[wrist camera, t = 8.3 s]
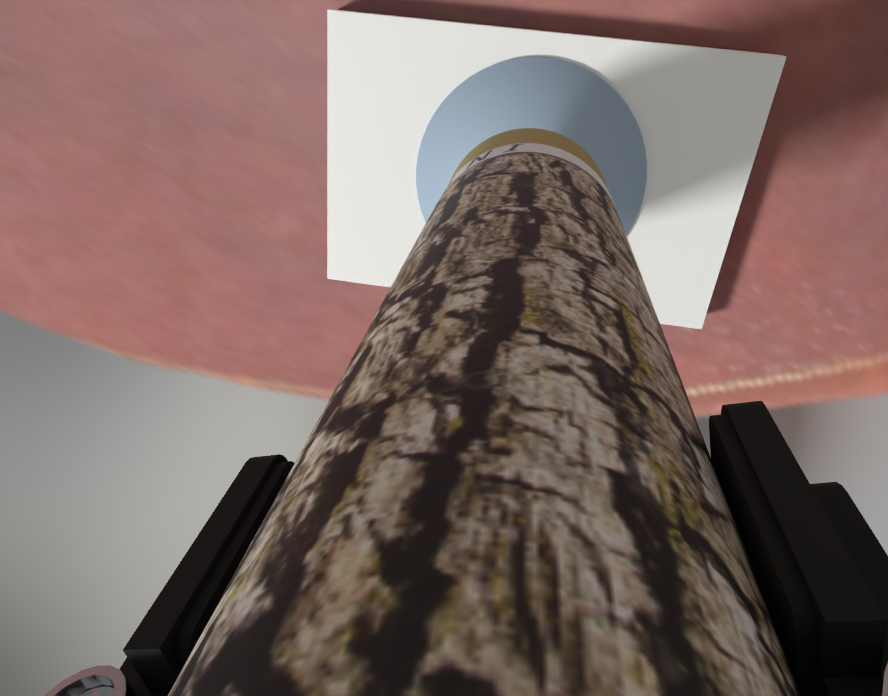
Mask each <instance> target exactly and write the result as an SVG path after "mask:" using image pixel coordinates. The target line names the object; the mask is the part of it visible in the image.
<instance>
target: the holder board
mask: <svg viewBox="0 0 888 696" xmlns="http://www.w3.org/2000/svg"><path fill="white" fill-rule="evenodd" d="M786 57H787V56H782V55H777V54H768V53H759V52H749V51H739V50H729V49H719V48H709V47H699V46H690V45H680V44H670V43H660V42H650V41H640V40H630V39H621V38H611V37H601V36H591V35H581V34H571V33H561V32H552V31H542V30H532V29H522V28H512V27H502V26H493V25H483V24H473V23H463V22H453V21H443V20H433V19H424V18H414V17H404V16H394V15H384V14H374V13H364V12H355V11H345V10H328V268H327V279H333V280H341V281H348V282H356V283H363V284H370V285H378V286H385V287H391V286H392V284H393V283H394V281H395V279H396V277H397V275H398V273H399V272H400V270H401V268H402V266H403V264H404V262H405V261H406V259H407V257H408V255H409V253H410V251H411V250H412V248H413V246H414V244H415V242H416V240H417V239H418V237H419V235H420V233H421V231H422V229H423V228H424V226H425V224H426V222H427V220H428V218H429V217H430V215H431V213H432V211H433V209H434V208H435V206H436V204H437V202H438V200H439V198H440V197H441V195H442V193H443V191H444V189H445V187H446V186H447V185H448V183H449V181H450V180H451V178H452V176H453V174H454V172H455V170H456V169H457V167H458V166H459V164H460V163H461V161H462V160H463V159H464V158H465V157H466V155H467V154H468V153H469V152H470V151H471V150H472V149H474V148H475V147H476V146H477V145H479V144H480V143H481V142H483V141H485V140H486V139H488V138H490V137H492V136H494V135H496V134H499V133H502V132H505V131H509V130H513V129H520V128H537V129H544V130H549V131H553V132H556V133H558V134H561V135H563V136H565V137H567V138H569V139H571V140H572V141H574V142H576V143H577V144H578V145H579V146H581V147H582V148H583V149H584V150H585V151H586V152H587V153H588V154H589V155H590V156H591V157H592V158H593V160H594V161H595V162H596V164H597V166H598V167H599V169H600V171H601V173H602V175H603V177H604V180H605V183H606V185H607V188H608V191H609V193H610V195H611V197H612V199H613V202H614V204H615V207H616V210H617V212H618V215H619V218H620V220H621V223H622V225H623V228H624V231H625V233H626V236H627V239H628V241H629V244H630V247H631V249H632V252H633V254H634V257H635V260H636V262H637V265H638V268H639V270H640V273H641V276H642V278H643V281H644V284H645V286H646V289H647V291H648V294H649V297H650V299H651V302H652V305H653V307H654V310H655V313H656V315H657V318H658V320H659V323H660V324H667V325H674V326H682V327H689V328H696V329H702V326H703V323H704V319H705V316H706V313H707V310H708V307H709V303H710V300H711V297H712V294H713V291H714V287H715V284H716V281H717V278H718V275H719V271H720V268H721V265H722V262H723V259H724V255H725V252H726V249H727V246H728V243H729V239H730V236H731V233H732V230H733V227H734V223H735V220H736V217H737V214H738V211H739V207H740V204H741V201H742V198H743V195H744V191H745V188H746V185H747V182H748V179H749V175H750V172H751V169H752V166H753V163H754V159H755V156H756V153H757V150H758V147H759V143H760V140H761V137H762V134H763V131H764V127H765V124H766V121H767V118H768V115H769V111H770V108H771V105H772V102H773V99H774V95H775V92H776V89H777V86H778V83H779V79H780V76H781V73H782V70H783V67H784V63H785V60H786Z"/></svg>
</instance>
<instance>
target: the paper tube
mask: <svg viewBox="0 0 888 696" xmlns="http://www.w3.org/2000/svg"><path fill="white" fill-rule="evenodd" d="M168 696H801V695H800V693H799V690H798V687H797V685H796V682H795V680H794V677H793V674H792V672H791V669H790V666H789V664H788V661H787V658H786V656H785V653H784V650H783V648H782V645H781V643H780V640H779V637H778V635H777V632H776V629H775V627H774V624H773V621H772V619H771V616H770V614H769V611H768V608H767V606H766V603H765V600H764V598H763V595H762V592H761V590H760V587H759V584H758V582H757V579H756V577H755V574H754V571H753V569H752V566H751V563H750V561H749V558H748V555H747V553H746V550H745V548H744V545H743V542H742V540H741V537H740V534H739V532H738V529H737V526H736V524H735V521H734V518H733V516H732V513H731V511H730V508H729V505H728V503H727V500H726V497H725V495H724V492H723V489H722V487H721V484H720V482H719V479H718V476H717V474H716V471H715V468H714V466H713V463H712V460H711V458H710V455H709V452H708V450H707V447H706V445H705V442H704V439H703V437H702V434H701V431H700V429H699V426H698V424H697V421H696V418H695V416H694V413H693V410H692V408H691V405H690V402H689V400H688V397H687V394H686V392H685V389H684V386H683V384H682V381H681V379H680V376H679V373H678V371H677V368H676V365H675V363H674V360H673V357H672V355H671V352H670V350H669V347H668V344H667V342H666V339H665V336H664V334H663V331H662V328H661V326H660V323H659V320H658V318H657V315H656V313H655V310H654V307H653V305H652V302H651V299H650V297H649V294H648V291H647V289H646V286H645V284H644V281H643V278H642V276H641V273H640V270H639V268H638V265H637V262H636V260H635V257H634V254H633V252H632V249H631V247H630V244H629V241H628V239H627V236H626V233H625V231H624V228H623V225H622V223H621V220H620V218H619V215H618V212H617V210H616V207H615V204H614V202H613V199H612V197H611V195H610V193H609V191H608V188H607V185H606V183H605V180H604V177H603V175H602V173H601V171H600V169H599V167H598V166H597V164H596V162H595V161H594V160H593V158H592V157H591V156H590V155H589V154H588V153H587V152H586V151H585V150H584V149H583V148H582V147H581V146H579V145H578V144H577V143H576V142H574V141H572V140H571V139H569V138H567V137H565V136H563V135H561V134H558V133H556V132H553V131H549V130H544V129H537V128H520V129H513V130H509V131H505V132H502V133H499V134H496V135H494V136H492V137H490V138H488V139H486V140H485V141H483V142H481V143H480V144H479V145H477V146H476V147H475V148H474V149H472V150H471V151H470V152H469V153H468V154H467V155H466V157H465V158H464V159H463V160H462V161H461V163H460V164H459V166H458V167H457V169H456V170H455V172H454V174H453V176H452V178H451V180H450V181H449V183H448V185H447V186H446V187H445V189H444V191H443V193H442V195H441V197H440V198H439V200H438V202H437V204H436V206H435V208H434V209H433V211H432V213H431V215H430V217H429V218H428V220H427V222H426V224H425V226H424V228H423V229H422V231H421V233H420V235H419V237H418V239H417V240H416V242H415V244H414V246H413V248H412V250H411V251H410V253H409V255H408V257H407V259H406V261H405V262H404V264H403V266H402V268H401V270H400V272H399V273H398V275H397V277H396V279H395V281H394V283H393V284H392V286H391V288H390V290H389V292H388V294H387V295H386V297H385V299H384V301H383V303H382V305H381V306H380V308H379V310H378V312H377V314H376V316H375V317H374V319H373V321H372V323H371V325H370V326H369V328H368V330H367V332H366V334H365V336H364V337H363V339H362V341H361V343H360V345H359V347H358V348H357V350H356V352H355V354H354V356H353V358H352V359H351V361H350V363H349V365H348V367H347V369H346V370H345V372H344V374H343V376H342V378H341V380H340V381H339V383H338V385H337V387H336V389H335V391H334V392H333V394H332V396H331V398H330V400H329V402H328V403H327V405H326V407H325V409H324V411H323V413H322V414H321V416H320V418H319V420H318V422H317V424H316V425H315V427H314V429H313V431H312V433H311V434H310V436H309V438H308V440H307V442H306V444H305V445H304V447H303V449H302V451H301V453H300V455H299V457H298V458H297V460H296V462H295V464H294V466H293V467H292V469H291V471H290V473H289V475H288V477H287V478H286V480H285V482H284V484H283V486H282V488H281V489H280V491H279V493H278V495H277V497H276V499H275V500H274V502H273V504H272V506H271V508H270V510H269V511H268V513H267V515H266V517H265V519H264V520H263V522H262V524H261V526H260V528H259V530H258V531H257V533H256V535H255V537H254V539H253V541H252V542H251V544H250V546H249V548H248V550H247V552H246V553H245V555H244V557H243V559H242V561H241V563H240V564H239V566H238V568H237V570H236V572H235V574H234V575H233V577H232V579H231V581H230V583H229V585H228V586H227V588H226V590H225V592H224V594H223V596H222V597H221V599H220V601H219V603H218V605H217V607H216V608H215V610H214V612H213V614H212V616H211V617H210V619H209V621H208V623H207V625H206V627H205V628H204V630H203V632H202V634H201V636H200V638H199V639H198V641H197V643H196V645H195V647H194V649H193V650H192V652H191V654H190V656H189V658H188V660H187V661H186V663H185V665H184V667H183V669H182V671H181V672H180V674H179V676H178V678H177V680H176V682H175V683H174V685H173V687H172V689H171V691H170V693H169V694H168Z"/></svg>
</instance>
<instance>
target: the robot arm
mask: <svg viewBox="0 0 888 696" xmlns="http://www.w3.org/2000/svg"><path fill="white" fill-rule="evenodd" d="M709 430H710V448H711V460H712V463H713V466H714V468H715V471H716V474H717V476H718V479H719V482H720V484H721V487H722V489H723V492H724V495H725V497H726V500H727V503H728V505H729V508H730V511H731V513H732V516H733V518H734V521H735V524H736V526H737V529H738V532H739V534H740V537H741V540H742V542H743V545H744V548H745V550H746V553H747V555H748V558H749V561H750V563H751V566H752V569H753V571H754V574H755V577H756V579H757V582H758V584H759V587H760V590H761V592H762V595H763V598H764V600H765V603H766V606H767V608H768V611H769V614H770V616H771V619H772V621H773V624H774V627H775V629H776V632H777V635H778V637H779V640H780V643H781V645H782V648H783V650H784V653H785V656H786V658H787V661H788V664H789V666H790V669H791V672H792V674H793V677H794V680H795V682H796V685H797V687H798V690H799V693H800V695H801V696H888V556H887V554H886V553H885V551H884V549H883V548H882V546H881V545H880V543H879V541H878V540H877V538H876V537H875V535H874V533H873V532H872V530H871V529H870V527H869V526H868V524H867V522H866V521H865V519H864V518H863V516H862V515H861V513H860V512H859V510H858V508H857V507H856V505H855V504H854V502H853V500H852V499H851V497H850V496H849V494H848V493H847V491H846V490H845V489H844V488H843V486H842V485H840V484H839V483H837V482H830V483H818V484H809V482H808V480H807V479H806V477H805V475H804V473H803V471H802V470H801V468H800V466H799V464H798V463H797V461H796V459H795V457H794V455H793V454H792V452H791V450H790V448H789V447H788V445H787V443H786V441H785V440H784V438H783V436H782V434H781V432H780V431H779V429H778V427H777V425H776V424H775V422H774V420H773V418H772V417H771V415H770V413H769V411H768V410H767V408H766V406H765V404H764V403H763V402H762V401H755V402H746V403H737V404H728V405H723V406H722V410H721V415H714V416H710V417H709ZM294 464H295V463H294V462H291V461H289V462H288V461H287V459H286V458H285V457H284V456H283V455H271V456H262V457H253V458H250V459H249V460H248V461H247V462H246V463H245V465H244V466H243V468H242V469H241V471H240V472H239V474H238V475H237V477H236V479H235V480H234V482H233V483H232V484H231V486H230V487H229V489H228V491H227V492H226V494H225V495H224V497H223V498H222V500H221V501H220V503H219V504H218V506H217V507H216V509H215V511H214V512H213V514H212V515H211V517H210V518H209V520H208V521H207V523H206V524H205V526H204V527H203V529H202V530H201V532H200V533H199V535H198V537H197V538H196V540H195V541H194V542H193V544H192V546H191V547H190V548H189V550H188V552H187V553H186V555H185V556H184V558H183V559H182V561H181V562H180V564H179V565H178V567H177V568H176V570H175V571H174V573H173V574H172V576H171V578H170V579H169V581H168V582H167V584H166V585H165V587H164V588H163V590H162V592H161V593H160V594H159V596H158V597H157V599H156V601H155V602H154V603H153V605H152V607H151V608H150V609H149V611H148V613H147V614H146V616H145V617H144V619H143V620H142V622H141V623H140V625H139V626H138V628H137V629H136V631H135V632H134V634H133V635H132V637H131V638H130V640H129V642H128V643H127V645H126V646H125V648H124V649H123V651H124V653H125V654H126V655H127V658H126V660H125V661H124V663H123V665H122V666H121V668H120V669H117V668H115V667H113V666H95V667H92V668H89V669H85V670H82V671H80V672H78V673H76V674H74V675H72V676H70V677H69V678H66V679H65V680H63V681H62V682H61V683H59V684H58V685H57V686H55V687H54V688H53V689H51V690H50V691H49V692H48V693H47V694H46V695H45V696H168V694H169V693H170V691H171V689H172V687H173V685H174V683H175V682H176V680H177V678H178V676H179V674H180V672H181V671H182V669H183V667H184V665H185V663H186V661H187V660H188V658H189V656H190V654H191V652H192V650H193V649H194V647H195V645H196V643H197V641H198V639H199V638H200V636H201V634H202V632H203V630H204V628H205V627H206V625H207V623H208V621H209V619H210V617H211V616H212V614H213V612H214V610H215V608H216V607H217V605H218V603H219V601H220V599H221V597H222V596H223V594H224V592H225V590H226V588H227V586H228V585H229V583H230V581H231V579H232V577H233V575H234V574H235V572H236V570H237V568H238V566H239V564H240V563H241V561H242V559H243V557H244V555H245V553H246V552H247V550H248V548H249V546H250V544H251V542H252V541H253V539H254V537H255V535H256V533H257V531H258V530H259V528H260V526H261V524H262V522H263V520H264V519H265V517H266V515H267V513H268V511H269V510H270V508H271V506H272V504H273V502H274V500H275V499H276V497H277V495H278V493H279V491H280V489H281V488H282V486H283V484H284V482H285V480H286V478H287V477H288V475H289V473H290V471H291V469H292V467H293V466H294Z"/></svg>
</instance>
